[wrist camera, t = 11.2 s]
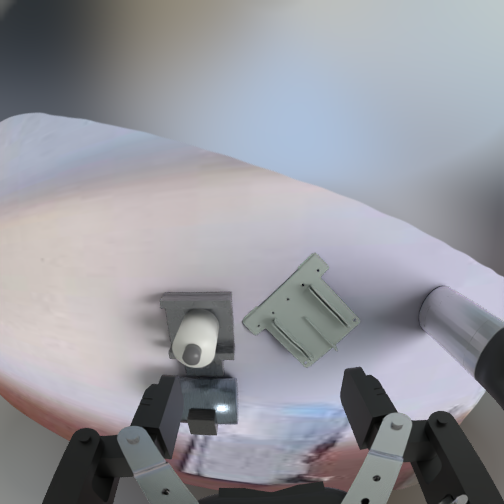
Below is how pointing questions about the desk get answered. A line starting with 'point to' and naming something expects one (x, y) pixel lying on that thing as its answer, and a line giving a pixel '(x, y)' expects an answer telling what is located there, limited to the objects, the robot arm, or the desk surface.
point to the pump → (196, 338)
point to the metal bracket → (304, 314)
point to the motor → (206, 389)
